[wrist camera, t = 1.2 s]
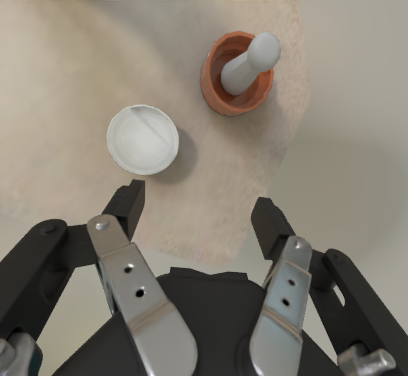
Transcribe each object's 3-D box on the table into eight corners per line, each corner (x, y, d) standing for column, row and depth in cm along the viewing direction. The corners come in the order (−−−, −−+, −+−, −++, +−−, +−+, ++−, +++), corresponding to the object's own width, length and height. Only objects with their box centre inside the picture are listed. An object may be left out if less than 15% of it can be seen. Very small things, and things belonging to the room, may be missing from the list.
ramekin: (181, 119, 35) (185, 114, 30) (170, 176, 37) (172, 180, 32) (118, 102, 32) (111, 94, 27) (110, 165, 34) (102, 168, 29)
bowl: (191, 55, 34) (197, 40, 29) (251, 41, 35) (265, 24, 31) (210, 123, 37) (217, 119, 32) (264, 107, 39) (278, 101, 34)
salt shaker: (243, 65, 36) (289, 21, 23) (246, 97, 37) (290, 71, 25) (215, 66, 34) (246, 21, 22) (218, 99, 36) (250, 74, 24)
